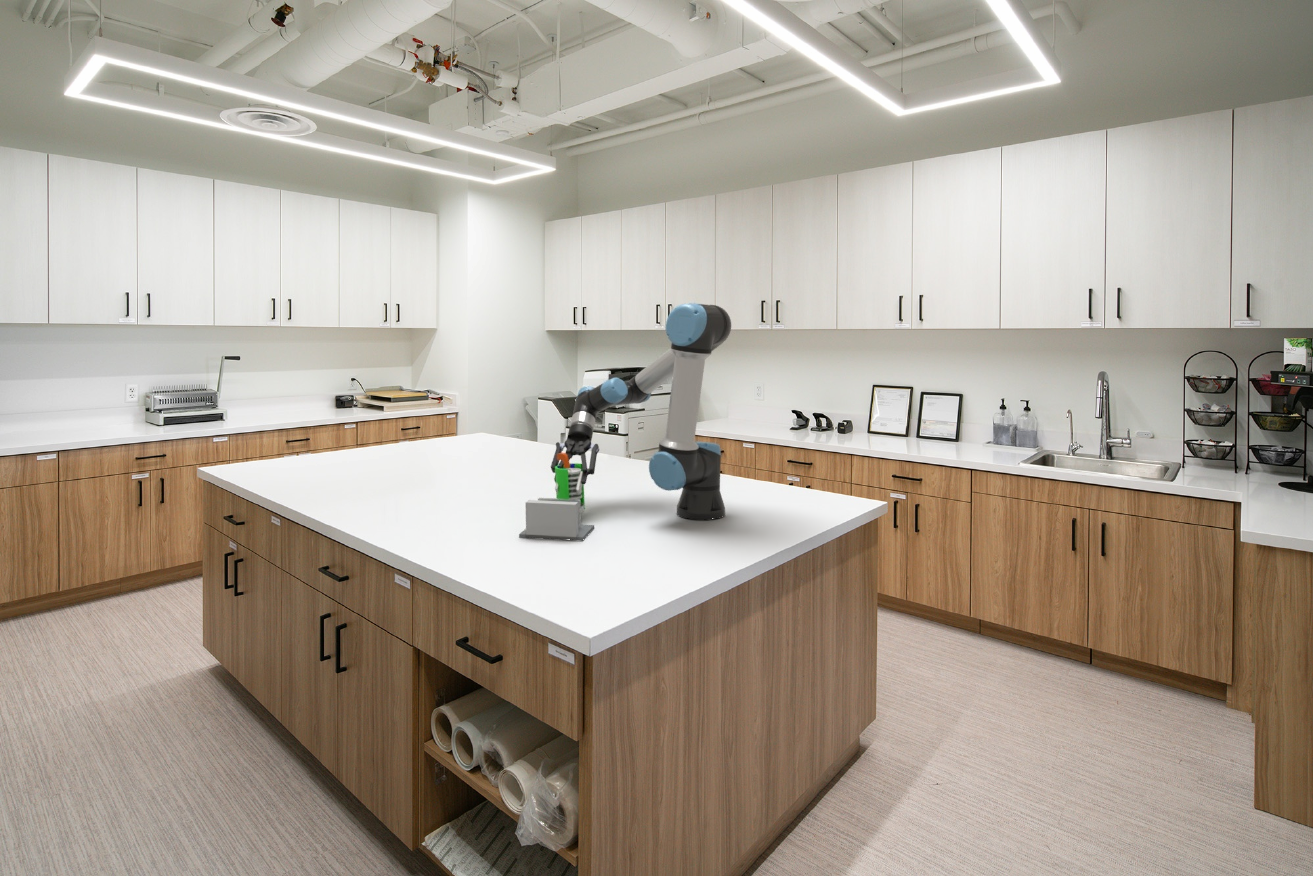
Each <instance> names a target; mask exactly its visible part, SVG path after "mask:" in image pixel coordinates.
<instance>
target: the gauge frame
mask: <svg viewBox="0 0 1313 876" xmlns="http://www.w3.org/2000/svg"><path fill="white" fill-rule="evenodd" d="M594 529H595V524H581V527H580V528H578V502H563V501H540V500H538V499H529V500H527V501H526V502H525V528H524V530H523V531H521V532H520V533H519V534H518V538H520V539H535V538H543V539H542V540H554V539H570V540H569V541H573V540H582V541H581V542H584V540H585V539H586V538H587V537H588V536H589V535H590V534H591V532H592V531H593V530H594ZM589 533H590V534H589ZM588 534H589V535H588ZM586 536H587V537H586ZM583 539H584V540H583Z"/></svg>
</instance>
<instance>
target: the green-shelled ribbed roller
mask: <svg viewBox="0 0 1313 876" xmlns="http://www.w3.org/2000/svg"><path fill="white" fill-rule="evenodd" d="M557 460H559V461H561V460H562V461H563V464H564V466H563V468H561V469H559V468H560V465H559V464H558V465H557V466H555V473H554V474H555V475H554V477H555V478H556V482H557V483H558V491H559V492H558V493H556V492H555V493H556V494H555V495H556V498H557V499H580V506H581V514H583V513H585V509H586V503H585V484H582V489H581V494H580V495H578V494H577V491H576V488H577V483H578V478H579V474H580V472H581V471H582V472H583V470H582V469H583V468H582V463H577V462H574V463H573V462H572V463H570V460H569V459H568V456H567V454H566V452H562V453H559V454H557Z"/></svg>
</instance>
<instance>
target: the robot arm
mask: <svg viewBox="0 0 1313 876" xmlns="http://www.w3.org/2000/svg"><path fill="white" fill-rule="evenodd" d="M731 331H732V319H731V317H730V315H729V313H728V312H727V311H726V310H725V309H724V308H723V307H721V306H719V305H715V304H706V303H705V304H703V303H696V302H689V303H682V304H679V305H677V306H676V307H675V308H673V309H672V310H671V311H670V312H669V315H668V316H667V319H666V321H665V333H666V336H668V340H669V341H670V343H671V345H670V348H668V349H667V350H666V351H665V352H664V353H662V354H661V355H660V356H658V357H657V358H656V359H654V360H653V361H652V362H651V363H649V364H648V365H646V367H645V368H643V369H641V371H639V372H638V373H637V374H636V375H634V376H633V377H632V378H631V379H629V380H622V379H620V378H619V377H612V378H610V379H607V380H605V381H603V383H601V384H599V385H598V386H596V387H594V386H590V385H589V386H583V387H581V388H580V389H579V390H578V393H577V395H576V398H575V402H574V407H573V412H572V417H571V419H570V420H571V421H570V424H569V429H568V432H567V437H566V440H565V441H564V442H561V443H560V441H559V442H556V443H555V452H554V455H553V458H552V461H551V465H550V470H551V471H552V473H553V474H555V466H557V465H560V468H559V469H561V468H563V466H564V464H563V461H562V460H557V454H559V453H563V451H564V449H565V448H566V450H565V453H566V454H567V456H568V459H569V461H570V460H571V459H572V458H573V457H574V456H580V459H581V464H582V468H583V469H582V470H583V472H582V471H581V472H580V474H579V478H578V483H577V488H576V491H577V494H578V495H580V494H581V489H582V484H584V485H585V484H587V481H588V480H587V479H588V477H589V475H594V474H595V470H596V465H597V464H596V463H597V456H598V453H599V451H600V447H599V444H598V443H595V444H593V443H592V439H593V433H594V428H595V425H596V420H597V415H598V414H599V413H600V412H604V410H606V409H608V408H610V407H613V406H623V405H630V404H631V405H632V404H641V403H645V402H647V401H648V400H649V399H650V398H651V395H652V392H654V391H655V390H656V389H658V388H659V387H660V386H662V385H663V384H665V383H666V382H667V381H669V380H671V378H672V381H671V389H670V396H669V403H668V411H667V412H668V413H667V418H666V419H667V423H666V429H665V435H664V437H663V438H662V439H661V440H659V442H658V449H657V452H655V453H654V455H652V456H651V458H650V460H649V463H648V472H649V476H650V478H651V480H652V481H653V483H654V484H655V485H656V486H657V487H658V488H660V489H661V490H664V491H669V492H670V491H679V490H680V489H682V491H681V493H680V497H679V500H678V502H677V506H676V515H677V516H678V515H679V516H678V517H681V518H684V519H687V518H690V519H689V520H695V519H697V520H698V521H699V520H700V519H702V520H700V521H705V520H704V519H711V520H713V519H712V518H718V519H720V518H719V517H721V518H723V517H725V516H726V507H725V503H724V500H723V497H722V494H721V464H722V463H721V460H722V459H721V458H722V454H721V450H722V449H721V446H720V444H718V443H716V442H709V441H698V440H695V437H696V431H697V424H698V423H697V422H698V416H699V408H700V399H701V393H702V386H703V379H704V371H705V370H704V369H705V362H706V359H707V358H709V357H710V356H711V355H712V352H714V350H715V349H717V348H718V347H720V346H721V345H723V343H724V342H725V341H726V340H728V338H729V336H730V333H731ZM589 450H590V460H589V467H588V464H587V463H588V462H587V456H586V453H587V452H588V451H589ZM553 480H554V482H555V487H554V491H555V493H558V492H559V491H558V483H557V482H556V478H555V476H554V477H553ZM724 515H725V516H724ZM722 516H723V517H722ZM697 520H696V521H697Z"/></svg>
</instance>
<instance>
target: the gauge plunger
mask: <svg viewBox="0 0 1313 876" xmlns="http://www.w3.org/2000/svg"><path fill="white" fill-rule="evenodd" d="M537 500H540V501H563V502H578V528H580V527H581V522H582V519H581V517H582V515H581V514H582V513H581V506H580V499H557V497H556V498H555V497H553V498H552V497H539V498H538V497H537Z"/></svg>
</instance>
